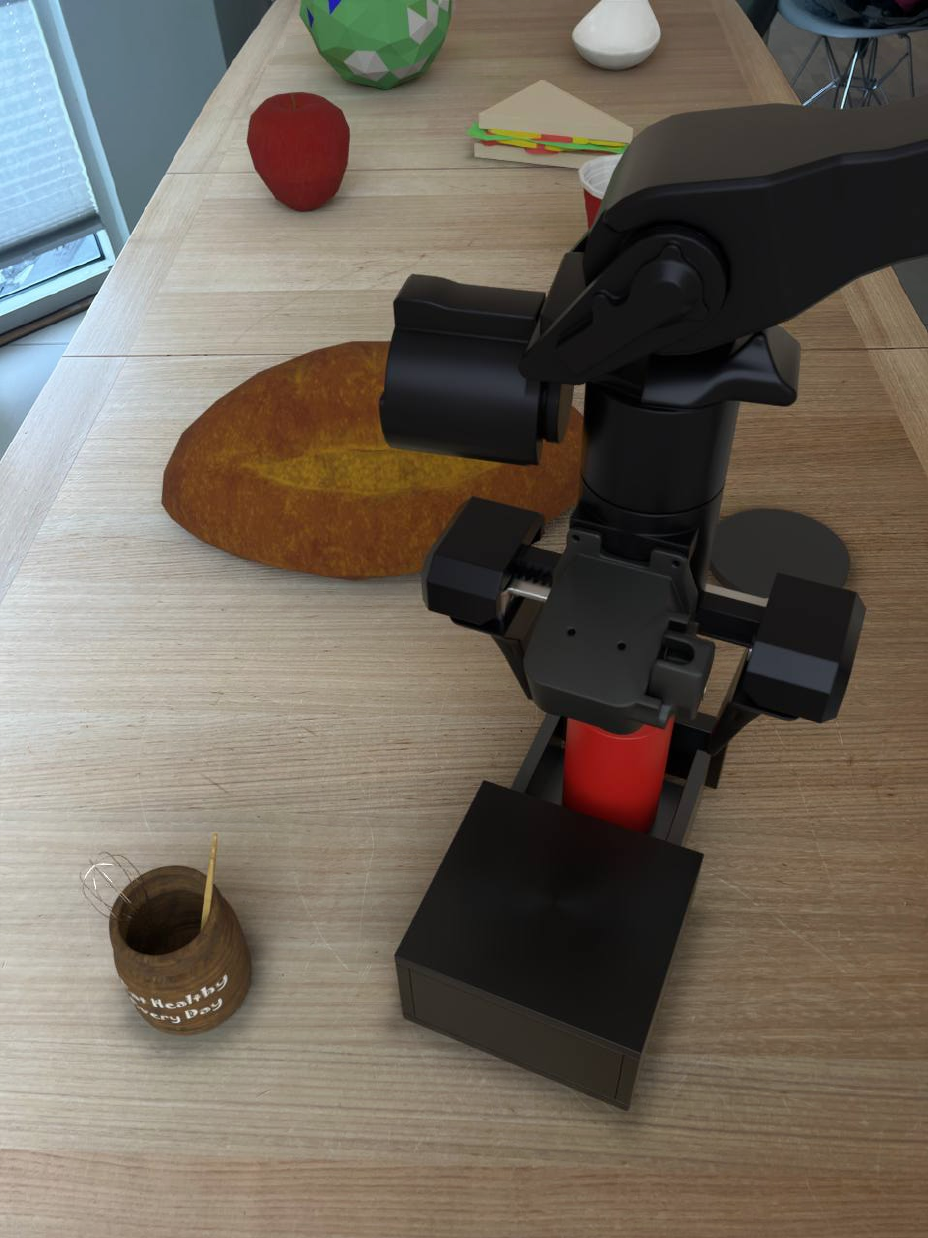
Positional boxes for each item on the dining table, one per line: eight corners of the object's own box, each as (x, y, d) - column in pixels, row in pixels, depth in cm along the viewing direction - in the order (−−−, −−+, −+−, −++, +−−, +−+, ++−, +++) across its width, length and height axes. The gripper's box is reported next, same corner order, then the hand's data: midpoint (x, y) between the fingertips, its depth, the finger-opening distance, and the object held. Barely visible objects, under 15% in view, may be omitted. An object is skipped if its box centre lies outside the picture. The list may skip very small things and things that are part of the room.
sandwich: (562, 203, 115) (563, 156, 112) (449, 149, 126) (448, 105, 123) (661, 163, 122) (666, 118, 118) (546, 115, 133) (548, 73, 129)
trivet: (857, 535, 76) (860, 527, 76) (834, 624, 70) (837, 616, 69) (724, 504, 79) (726, 495, 78) (691, 587, 73) (692, 578, 72)
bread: (190, 428, 87) (155, 288, 79) (588, 410, 88) (598, 269, 79) (146, 608, 73) (98, 460, 64) (626, 586, 73) (643, 437, 64)
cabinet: (484, 848, 59) (483, 779, 54) (687, 921, 55) (704, 853, 51) (402, 1019, 52) (393, 955, 47) (628, 1112, 49) (641, 1054, 44)
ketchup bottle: (668, 782, 59) (693, 652, 52) (641, 858, 56) (663, 730, 48) (579, 754, 61) (591, 623, 53) (548, 826, 57) (555, 697, 50)
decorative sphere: (412, 143, 143) (280, 67, 131) (390, 64, 154) (265, -13, 142) (499, 17, 131) (362, -79, 119) (468, -59, 142) (340, -153, 130)
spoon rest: (653, 81, 140) (658, 20, 135) (564, 76, 143) (566, 16, 137) (669, 24, 157) (675, -32, 152) (589, 20, 159) (592, -35, 154)
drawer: (575, 672, 66) (579, 619, 63) (738, 721, 63) (751, 668, 60) (493, 846, 58) (492, 795, 54) (677, 911, 55) (688, 862, 51)
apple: (371, 212, 115) (362, 98, 107) (277, 234, 112) (260, 118, 103) (334, 175, 122) (322, 65, 114) (245, 194, 119) (226, 83, 110)
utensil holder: (144, 932, 56) (79, 798, 47) (265, 925, 56) (222, 789, 47) (125, 1045, 51) (50, 919, 43) (256, 1036, 52) (207, 910, 43)
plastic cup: (704, 322, 97) (724, 192, 89) (590, 337, 96) (599, 207, 87) (664, 267, 105) (679, 142, 96) (558, 280, 103) (563, 155, 95)
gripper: (347, 536, 40) (381, 785, 51) (863, 677, 34) (775, 922, 45) (466, 381, 47) (473, 629, 58) (909, 477, 41) (823, 731, 52)
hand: (621, 720), depth 53 cm, fingers open, 9 cm apart
